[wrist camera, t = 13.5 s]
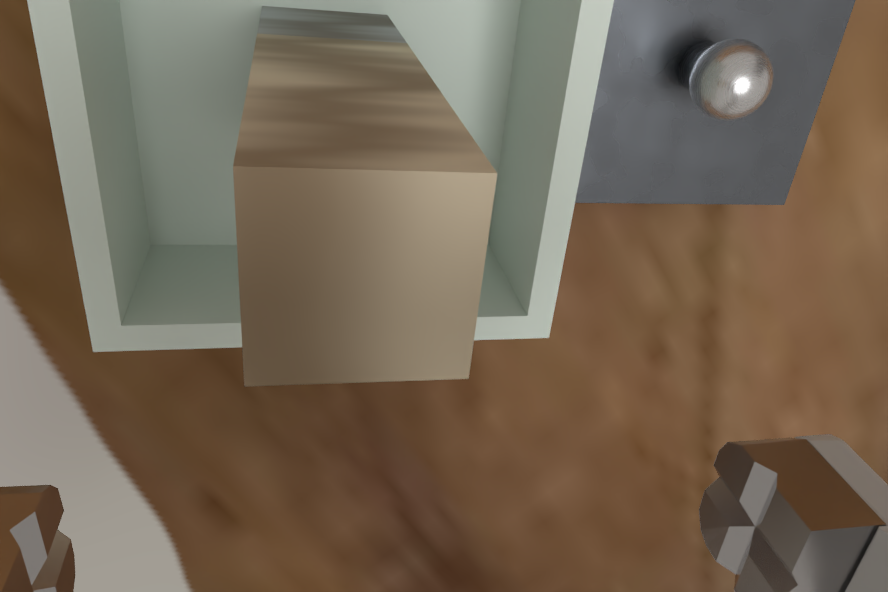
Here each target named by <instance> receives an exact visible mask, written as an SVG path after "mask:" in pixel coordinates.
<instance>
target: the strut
mask: <svg viewBox="0 0 888 592" xmlns="http://www.w3.org/2000/svg"><path fill="white" fill-rule="evenodd" d="M233 178H234V197H235V217H236V236H237V256H238V275H239V294H240V314H241V333H242V353H243V372H244V387H248V386H276V385H304V384H333V383H361V382H390V381H418V380H446V379H469V372H470V365H471V358H472V350H473V343H474V336H475V329H476V322H477V315H478V308H479V301H480V294H481V286H482V279H483V272H484V265H485V258H486V251H487V244H488V237H489V230H490V222H491V215H492V208H493V201H494V194H495V187H496V180H497V172H496V171H495V169H494V168H493V166H492V165H491V163H490V162H489V161H488V159H487V158H486V156H485V155H484V153H483V152H482V150H481V149H480V148H479V146H478V145H477V143H476V142H475V140H474V139H473V137H472V136H471V135H470V133H469V132H468V130H467V129H466V127H465V126H464V124H463V123H462V122H461V120H460V119H459V117H458V116H457V114H456V113H455V111H454V110H453V109H452V107H451V106H450V104H449V103H448V101H447V100H446V99H445V97H444V96H443V94H442V93H441V91H440V90H439V88H438V87H437V86H436V84H435V83H434V81H433V80H432V78H431V77H430V75H429V74H428V73H427V71H426V70H425V68H424V67H423V65H422V64H421V62H420V61H419V60H418V58H417V57H416V55H415V54H414V52H413V51H412V50H411V48H410V47H409V45H408V44H407V42H406V41H405V39H404V38H403V37H402V35H401V34H400V32H399V31H398V29H397V28H396V26H395V25H394V24H393V22H392V21H391V19H390V18H389V16H388V15H382V14H368V13H354V12H341V11H327V10H313V9H299V8H285V7H272V6H262V9H261V15H260V20H259V26H258V31H257V37H256V42H255V48H254V53H253V59H252V64H251V70H250V75H249V81H248V86H247V91H246V97H245V102H244V108H243V113H242V119H241V124H240V130H239V135H238V141H237V146H236V152H235V157H234V163H233Z"/></svg>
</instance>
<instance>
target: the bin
mask: <svg viewBox="0 0 888 592" xmlns="http://www.w3.org/2000/svg"><path fill="white" fill-rule="evenodd" d="M27 2H28V8H29V13H30V18H31V24H32V29H33V34H34V40H35V45H36V50H37V56H38V61H39V66H40V72H41V77H42V82H43V88H44V93H45V98H46V104H47V109H48V114H49V120H50V125H51V130H52V136H53V141H54V146H55V152H56V157H57V162H58V168H59V173H60V178H61V184H62V189H63V194H64V200H65V205H66V210H67V216H68V221H69V226H70V232H71V237H72V242H73V248H74V253H75V258H76V264H77V269H78V274H79V280H80V285H81V290H82V296H83V301H84V306H85V312H86V317H87V322H88V328H89V333H90V338H91V344H92V349H93V352H107V351H139V350H171V349H203V348H236V347H242V333H241V314H240V294H239V275H238V256H237V236H236V217H235V197H234V178H233V163H234V157H235V152H236V146H237V141H238V135H239V130H240V124H241V119H242V113H243V108H244V102H245V97H246V91H247V86H248V81H249V75H250V70H251V64H252V59H253V53H254V48H255V42H256V37H257V31H258V26H259V20H260V15H261V9H262V6H272V7H285V8H299V9H313V10H327V11H341V12H354V13H368V14H382V15H388V16H389V18H390V19H391V21H392V22H393V24H394V25H395V26H396V28H397V29H398V31H399V32H400V34H401V35H402V37H403V38H404V39H405V41H406V42H407V44H408V45H409V47H410V48H411V50H412V51H413V52H414V54H415V55H416V57H417V58H418V60H419V61H420V62H421V64H422V65H423V67H424V68H425V70H426V71H427V73H428V74H429V75H430V77H431V78H432V80H433V81H434V83H435V84H436V86H437V87H438V88H439V90H440V91H441V93H442V94H443V96H444V97H445V99H446V100H447V101H448V103H449V104H450V106H451V107H452V109H453V110H454V111H455V113H456V114H457V116H458V117H459V119H460V120H461V122H462V123H463V124H464V126H465V127H466V129H467V130H468V132H469V133H470V135H471V136H472V137H473V139H474V140H475V142H476V143H477V145H478V146H479V148H480V149H481V150H482V152H483V153H484V155H485V156H486V158H487V159H488V161H489V162H490V163H491V165H492V166H493V168H494V169H495V171H496V172H497V180H496V187H495V194H494V201H493V208H492V215H491V222H490V230H489V237H488V244H487V251H486V258H485V265H484V272H483V279H482V286H481V294H480V301H479V308H478V315H477V322H476V329H475V336H474V340H494V339H527V338H549V335H550V330H551V324H552V319H553V314H554V309H555V304H556V298H557V293H558V288H559V283H560V278H561V272H562V267H563V262H564V257H565V252H566V246H567V241H568V236H569V231H570V226H571V221H572V215H573V210H574V205H575V200H576V195H577V189H578V184H579V179H580V174H581V169H582V163H583V158H584V153H585V148H586V143H587V138H588V132H589V127H590V122H591V117H592V112H593V106H594V101H595V96H596V91H597V86H598V80H599V75H600V70H601V65H602V60H603V54H604V49H605V44H606V39H607V34H608V29H609V23H610V18H611V13H612V8H613V3H614V0H27Z"/></svg>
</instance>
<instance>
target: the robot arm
mask: <svg viewBox="0 0 888 592" xmlns="http://www.w3.org/2000/svg"><path fill="white" fill-rule="evenodd" d="M714 467H715V469H716V471H717V473H718V475H719V478H718V479H717V480H715V481H714V482H713V483H712V484H711V485H710V486H709V487H708V488H707V489H706V490H705V491H704V494H703V498H702V501H701V505H700V508H699V514H700V526H701V532H702V534H703V537H704V540H705V543H706V546H707V547H708V549H709V550H710V552H711V554H712V555H713V557H714V559H715V560H716V562H718V563H719V564H721V565H722V566H724V567H725V568H727V569H728V570H730V571H731V572H733V573H734V574H736V576H735V586H734V591H735V592H888V484H887V483H886V482H885V481H884V480H882V479H881V478H880V477H879V476H878V475H877V474H876V473H875V472H874V471H873V470H872V469H871V468H870V467H869V466H868V465H867V464H866V463H865V462H864V461H863V460H862V459H861V458H860V457H859V456H858V455H857V454H856V453H855V452H854V451H853V450H852V449H851V448H850V447H849V446H848V445H847V444H846V443H845V442H844V441H843V440H841V439H840V438H837V437H835V436H833V435H831V434H825V435H813V436H800V437H795V438H778V439H764V440H750V441H737V442H727V443H726V444H725V445H724V446H723V447H722V448H721V449H720V450H719V452H718V455H717V457H716V460H715V463H714ZM63 511H64V509H63V506H62V502H61V498H60V495H59V491H58V488H56V487H53V486H51V485H38V486H14V487H0V592H73V589H74V580H75V562H74V552H73V548H72V543H71V539H69V538H68V537H67V536H65V535H64V534H63V533H61V532H60V531H59V530H57V529H58V526H59V523H60V519H61V517H62V514H63Z"/></svg>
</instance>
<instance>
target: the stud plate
mask: <svg viewBox="0 0 888 592" xmlns="http://www.w3.org/2000/svg"><path fill="white" fill-rule="evenodd" d="M854 3H855V0H614V3H613V8H612V13H611V18H610V23H609V29H608V34H607V39H606V44H605V49H604V54H603V60H602V65H601V70H600V75H599V80H598V86H597V91H596V96H595V101H594V106H593V112H592V117H591V122H590V127H589V132H588V138H587V143H586V148H585V153H584V158H583V163H582V169H581V174H580V179H579V184H578V189H577V195H576V200H575V203H659V204H760V205H784V204H785V201H786V198H787V195H788V192H789V189H790V186H791V184H792V181H793V178H794V175H795V172H796V169H797V166H798V163H799V161H800V158H801V155H802V152H803V149H804V146H805V143H806V141H807V138H808V135H809V132H810V129H811V126H812V123H813V121H814V118H815V115H816V112H817V109H818V106H819V103H820V100H821V98H822V95H823V92H824V89H825V86H826V83H827V80H828V78H829V75H830V72H831V69H832V66H833V63H834V60H835V58H836V55H837V52H838V49H839V46H840V43H841V40H842V37H843V35H844V32H845V29H846V26H847V23H848V20H849V17H850V15H851V12H852V9H853V6H854Z"/></svg>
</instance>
